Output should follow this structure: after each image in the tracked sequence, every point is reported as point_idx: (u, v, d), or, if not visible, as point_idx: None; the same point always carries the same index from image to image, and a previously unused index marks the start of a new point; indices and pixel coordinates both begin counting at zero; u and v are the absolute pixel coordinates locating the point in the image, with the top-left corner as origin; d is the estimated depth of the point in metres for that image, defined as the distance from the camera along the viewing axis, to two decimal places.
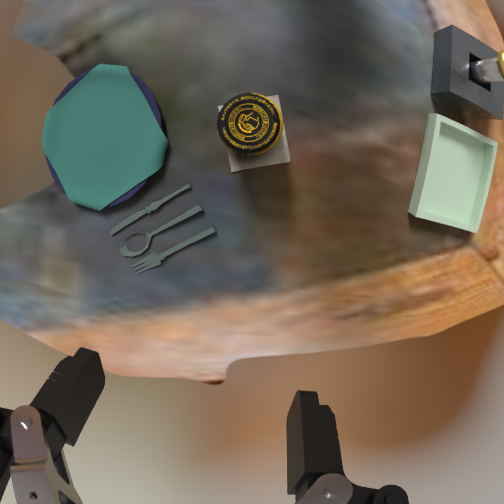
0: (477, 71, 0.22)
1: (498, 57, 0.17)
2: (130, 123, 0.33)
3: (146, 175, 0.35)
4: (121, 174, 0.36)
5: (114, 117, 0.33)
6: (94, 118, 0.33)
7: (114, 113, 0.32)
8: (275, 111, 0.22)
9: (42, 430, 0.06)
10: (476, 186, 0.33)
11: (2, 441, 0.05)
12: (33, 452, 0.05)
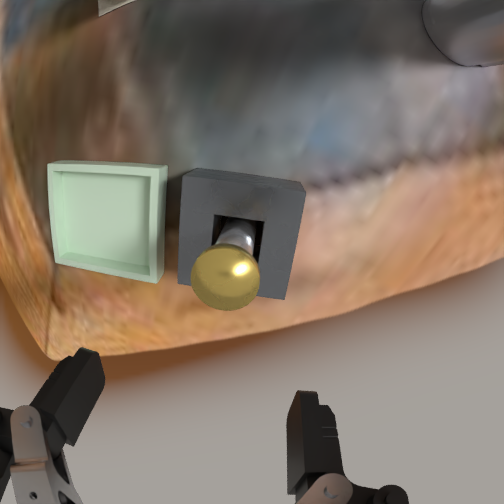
0: (228, 229, 0.24)
1: (233, 246, 0.18)
2: None
3: None
4: None
5: None
6: None
7: None
8: None
9: (42, 430, 0.06)
10: (104, 256, 0.31)
11: (2, 441, 0.05)
12: (33, 452, 0.05)
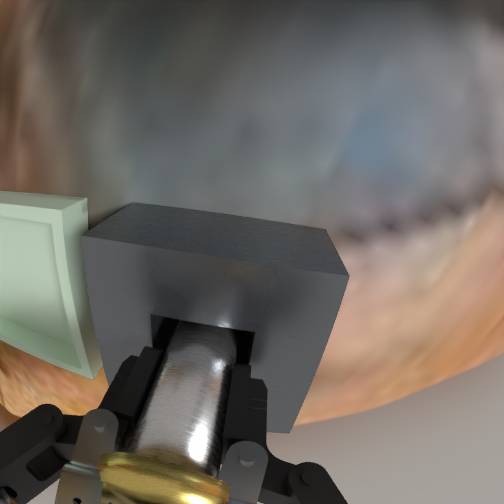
0: (178, 350, 0.11)
1: (166, 472, 0.05)
2: None
3: None
4: None
5: None
6: None
7: None
8: None
9: (115, 440, 0.07)
10: (28, 326, 0.18)
11: (59, 452, 0.06)
12: (96, 459, 0.06)
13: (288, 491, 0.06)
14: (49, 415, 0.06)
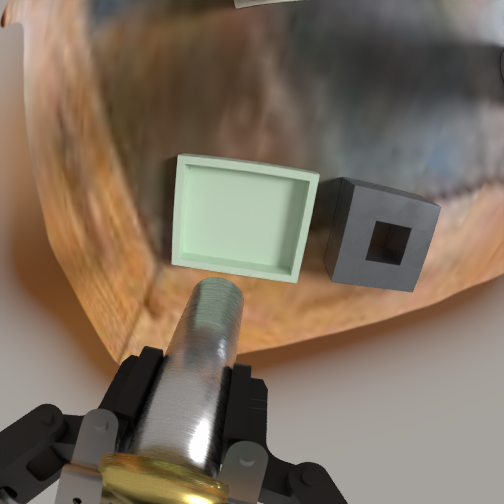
0: (177, 351, 0.11)
1: (166, 474, 0.05)
2: None
3: None
4: None
5: None
6: None
7: None
8: None
9: (115, 440, 0.07)
10: (232, 256, 0.34)
11: (59, 452, 0.06)
12: (96, 459, 0.06)
13: (288, 491, 0.06)
14: (49, 415, 0.06)
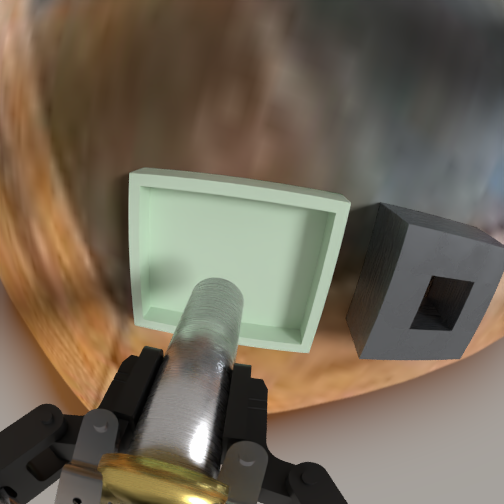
0: (177, 351, 0.11)
1: (166, 474, 0.05)
2: None
3: None
4: None
5: None
6: None
7: None
8: None
9: (115, 440, 0.07)
10: None
11: (59, 452, 0.06)
12: (96, 459, 0.06)
13: (288, 491, 0.06)
14: (49, 415, 0.06)
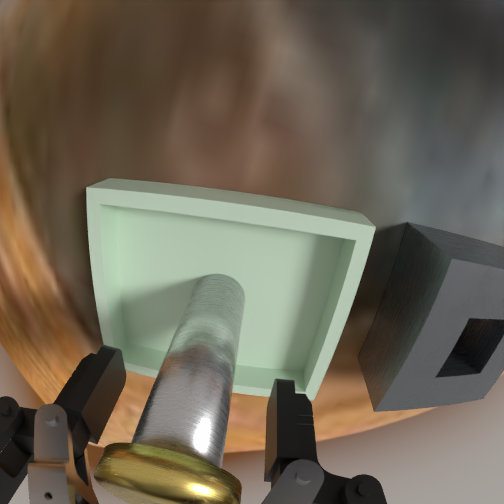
0: (181, 344, 0.11)
1: (171, 462, 0.06)
2: None
3: None
4: None
5: None
6: None
7: None
8: None
9: (67, 431, 0.06)
10: None
11: (21, 442, 0.06)
12: (55, 452, 0.05)
13: None
14: (7, 407, 0.06)
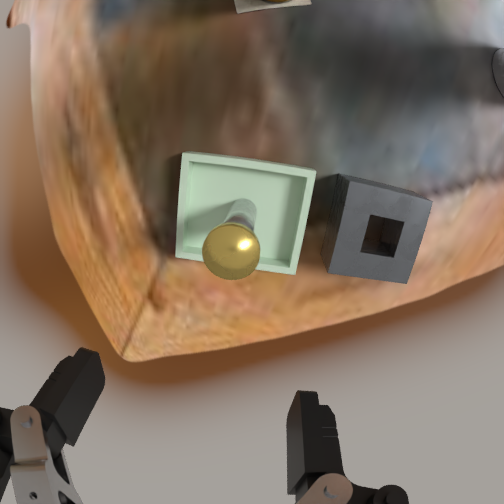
0: (232, 213, 0.27)
1: (238, 224, 0.22)
2: None
3: None
4: None
5: None
6: None
7: None
8: None
9: (42, 430, 0.06)
10: None
11: (2, 441, 0.05)
12: (33, 452, 0.05)
13: None
14: None
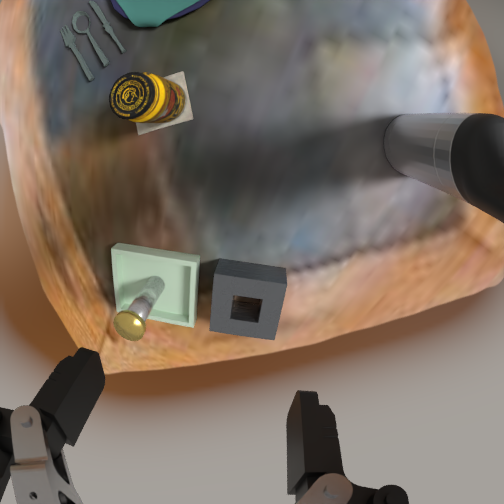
0: (138, 295, 0.41)
1: (130, 312, 0.35)
2: None
3: (130, 16, 0.29)
4: None
5: None
6: None
7: None
8: (138, 113, 0.26)
9: (42, 430, 0.06)
10: (154, 307, 0.48)
11: (2, 441, 0.05)
12: (33, 452, 0.05)
13: None
14: None
